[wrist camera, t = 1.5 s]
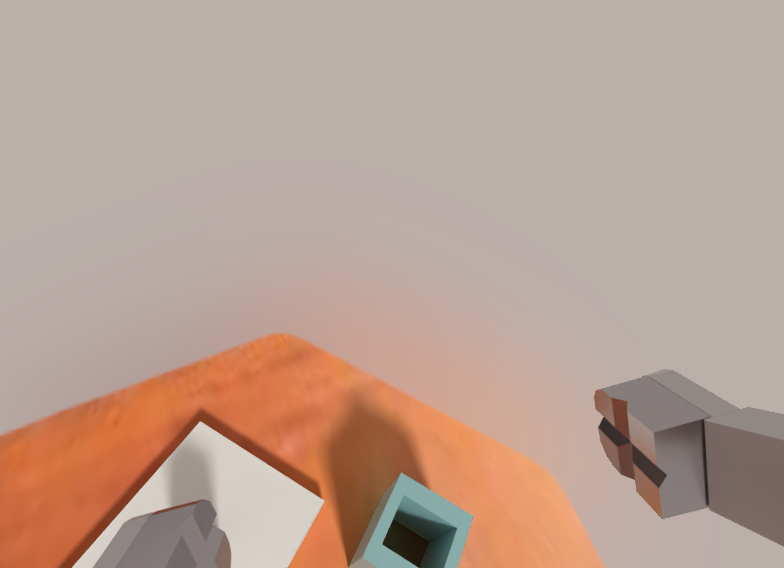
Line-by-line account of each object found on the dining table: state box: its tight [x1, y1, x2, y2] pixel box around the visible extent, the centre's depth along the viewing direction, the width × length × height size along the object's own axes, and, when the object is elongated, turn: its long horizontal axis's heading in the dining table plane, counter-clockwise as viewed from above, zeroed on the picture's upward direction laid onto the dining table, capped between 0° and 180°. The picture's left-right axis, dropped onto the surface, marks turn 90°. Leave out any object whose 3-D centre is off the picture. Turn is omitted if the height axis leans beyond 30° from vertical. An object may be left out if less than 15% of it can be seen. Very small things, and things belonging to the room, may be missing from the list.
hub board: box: [72, 421, 324, 568], centre depth 33 cm, size 16×14×2 cm
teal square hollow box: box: [349, 473, 473, 568], centre depth 34 cm, size 7×7×8 cm
